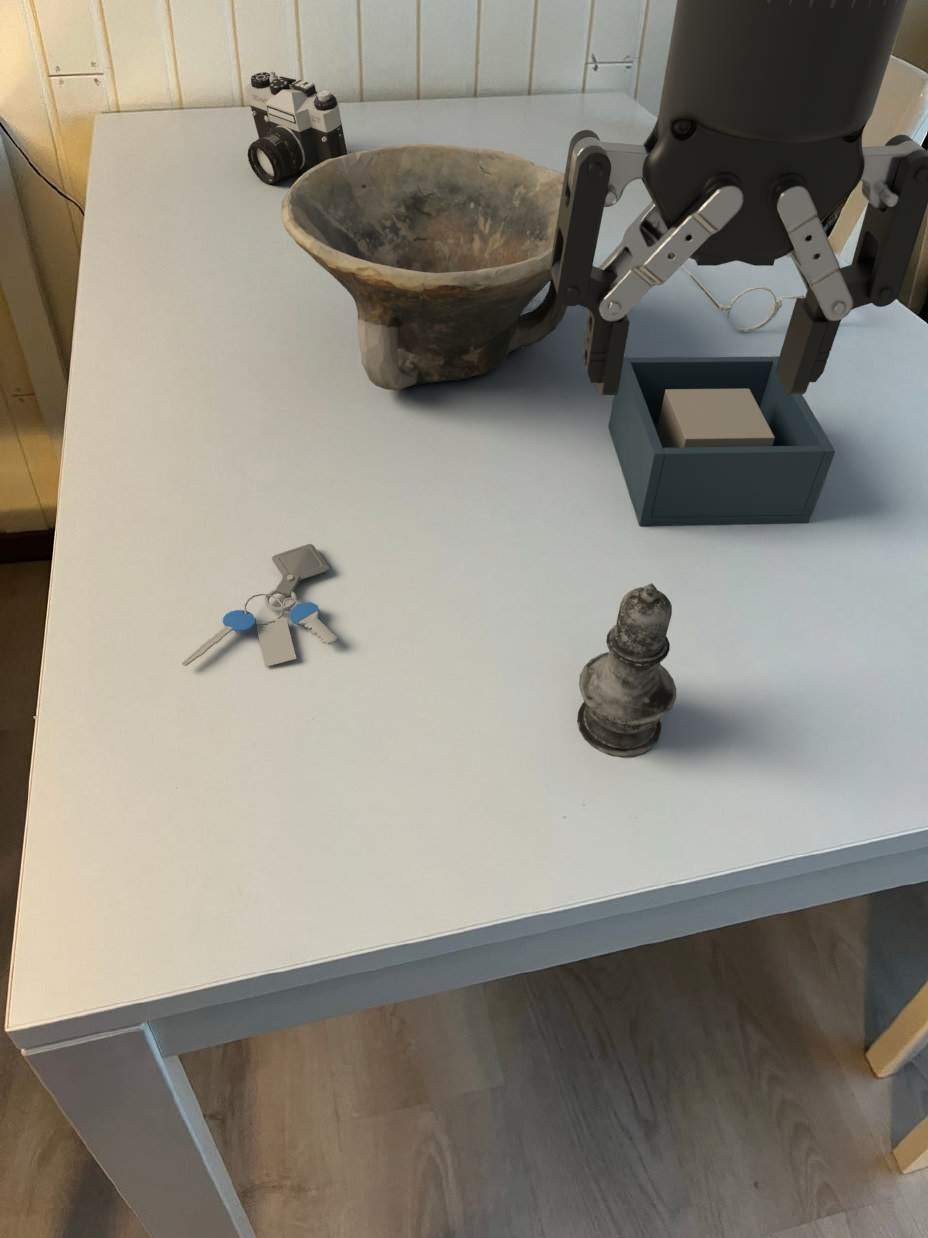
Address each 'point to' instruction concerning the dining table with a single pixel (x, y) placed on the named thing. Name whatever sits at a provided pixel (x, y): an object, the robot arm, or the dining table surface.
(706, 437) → the block
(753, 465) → the crate
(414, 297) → the bowl
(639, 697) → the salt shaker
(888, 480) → the dining table surface
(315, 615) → the key chain
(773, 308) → the eyeglasses
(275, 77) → the camera
